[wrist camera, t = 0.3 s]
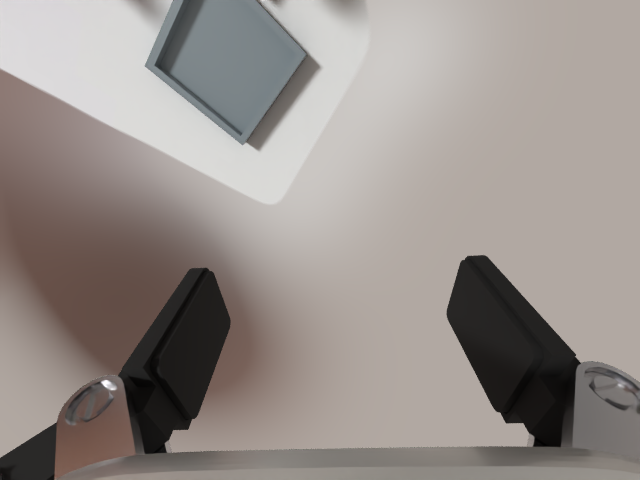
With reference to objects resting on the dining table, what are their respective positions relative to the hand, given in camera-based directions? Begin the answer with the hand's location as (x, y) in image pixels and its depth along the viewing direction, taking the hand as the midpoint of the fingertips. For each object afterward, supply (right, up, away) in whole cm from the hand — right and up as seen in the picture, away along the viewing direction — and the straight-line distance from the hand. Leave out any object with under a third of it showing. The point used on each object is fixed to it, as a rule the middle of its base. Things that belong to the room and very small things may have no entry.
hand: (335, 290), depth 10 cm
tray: (-11, +23, +21) cm, 33 cm away
